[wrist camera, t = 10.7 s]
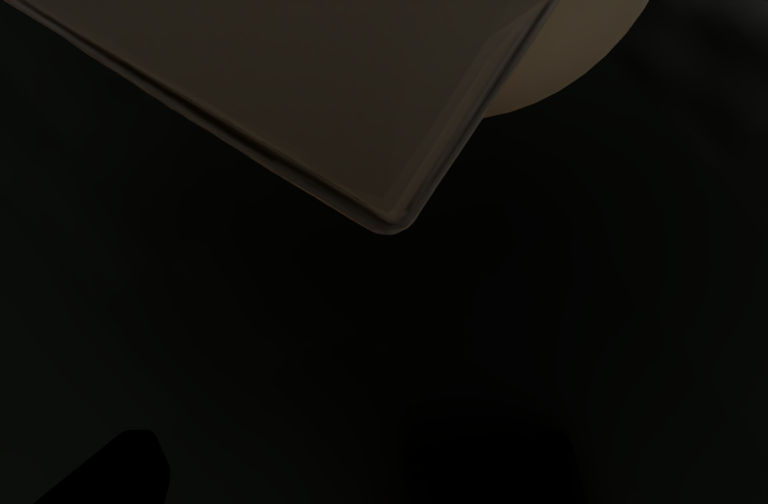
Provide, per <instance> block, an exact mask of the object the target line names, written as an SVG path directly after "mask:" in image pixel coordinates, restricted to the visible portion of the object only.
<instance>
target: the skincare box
mask: <svg viewBox="0 0 768 504" xmlns="http://www.w3.org/2000/svg"><path fill="white" fill-rule="evenodd" d="M4 1H6V2H7V3H9V4H10V5H12V6H14V7H15V8H17V9H19V10H20V11H22V12H24V13H25V14H27V15H29V16H30V17H32V18H34V19H35V20H37V21H38V22H40V23H42V24H43V25H45V26H47V27H48V28H50V29H52V30H53V31H55V32H57V33H58V34H60V35H61V36H63V37H64V38H66V39H67V40H68V41H70V42H71V43H72V44H74V45H75V46H76V47H78V48H79V49H81V50H82V51H84V52H85V53H87V54H88V55H90V56H91V57H93V58H95V59H96V60H98V61H99V62H101V63H102V64H104V65H105V66H107V67H109V68H110V69H112V70H114V71H115V72H117V73H118V74H120V75H122V76H123V77H125V78H126V79H128V80H129V81H131V82H133V83H134V84H136V85H137V86H138V87H140V88H141V89H143V90H144V91H146V92H147V93H148V94H150V95H152V96H153V97H155V98H157V99H158V100H160V101H161V102H162V103H164V104H165V105H166V106H168V107H169V108H171V109H173V110H175V111H177V112H179V113H180V114H182V115H183V116H185V117H186V118H188V119H189V120H191V121H192V122H194V123H195V124H197V125H199V126H201V127H203V128H205V129H206V130H208V131H210V132H211V133H213V134H214V135H216V136H217V137H219V138H220V139H222V140H223V141H225V142H227V143H228V144H230V145H232V146H233V147H235V148H236V149H238V150H239V151H241V152H243V153H244V154H246V155H247V156H249V157H250V158H252V159H253V160H255V161H256V162H258V163H259V164H261V165H263V166H264V167H266V168H267V169H269V170H270V171H272V172H274V173H275V174H277V175H279V176H280V177H282V178H284V179H285V180H287V181H289V182H290V183H292V184H294V185H295V186H297V187H299V188H300V189H302V190H304V191H305V192H307V193H309V194H310V195H312V196H314V197H315V198H317V199H319V200H320V201H322V202H324V203H325V204H327V205H328V206H330V207H332V208H333V209H335V210H337V211H338V212H340V213H342V214H343V215H345V216H346V217H348V218H350V219H351V220H353V221H355V222H356V223H358V224H360V225H362V226H363V227H365V228H367V229H369V230H371V231H372V232H374V233H377V234H384V235H393V234H396V233H398V232H400V231H402V230H405V229H407V228H408V227H409V226H410V225H411V224H412V223H413V222H414V221H415V220H416V218H417V217H418V215H419V213H420V212H421V210H422V209H423V207H424V206H425V204H426V202H427V201H428V199H429V198H430V196H431V195H432V193H433V192H434V190H435V189H436V187H437V186H438V184H439V183H440V181H441V180H442V178H443V177H444V175H445V174H446V172H447V171H448V169H449V168H450V167H451V165H452V164H453V162H454V161H455V159H456V158H457V156H458V155H459V153H460V152H461V150H462V149H463V147H464V146H465V144H466V143H467V141H468V140H469V138H470V137H471V135H472V134H473V132H474V131H475V129H476V128H477V126H478V125H479V123H480V122H481V120H482V119H483V117H484V116H485V114H486V113H487V111H488V109H489V108H490V106H491V105H492V103H493V102H494V100H495V99H496V97H497V96H498V94H499V93H500V91H501V90H502V88H503V87H504V85H505V84H506V82H507V81H508V79H509V78H510V76H511V75H512V73H513V72H514V70H515V69H516V67H517V66H518V64H519V63H520V61H521V60H522V58H523V57H524V56H525V54H526V53H527V51H528V49H529V48H530V46H531V45H532V43H533V42H534V40H535V38H536V37H537V35H538V34H539V32H540V30H541V29H542V27H543V26H544V24H545V23H546V21H547V20H548V18H549V17H550V15H551V14H552V12H553V11H554V9H555V8H556V6H557V5H558V3H559V2H560V0H4Z"/></svg>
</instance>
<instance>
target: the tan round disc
mask: <svg viewBox="0 0 768 504" xmlns="http://www.w3.org/2000/svg"><path fill="white" fill-rule="evenodd" d="M648 1H649V0H560V2H559V3H558V5H557V6H556V8H555V9H554V11H553V12H552V14H551V15H550V17H549V18H548V20H547V21H546V23H545V24H544V26H543V27H542V29H541V30H540V32H539V34H538V35H537V37H536V38H535V40H534V42H533V43H532V45H531V46H530V48H529V49H528V51H527V53H526V54H525V56H524V57H523V58H522V60H521V61H520V63H519V64H518V66H517V67H516V69H515V70H514V72H513V73H512V75H511V76H510V78H509V79H508V81H507V82H506V84H505V85H504V87H503V88H502V90H501V91H500V93H499V94H498V96H497V97H496V99H495V100H494V102H493V103H492V105H491V106H490V108H489V109H488V111H487V113H486V114H485V116H484V117H483V118H485V117H490V116H494V115H499V114H503V113H508V112H511V111H514V110H517V109H520V108H523V107H525V106H528V105H531V104H534V103H536V102H538V101H540V100H542V99H544V98H546V97H548V96H550V95H552V94H554V93H556V92H558V91H560V90H561V89H563V88H564V87H566V86H567V85H569V84H570V83H572V82H573V81H575V80H576V79H578V78H579V77H581V76H582V75H583V74H585V73H586V72H587V71H588V70H589V69H590V68H592V67H593V66H594V65H595V64H596V63H597V62H599V61H600V60H601V59H602V58H603V57H604V56H606V55H607V53H608V52H609V51H610V50H611V49H612V48H613V47H614V46H615V45H616V44H617V43H618V42H619V40H620V39H621V38H622V37H623V36H624V35H625V34H626V33H627V31H628V30H629V29H630V27H631V26H632V24H633V23H634V22H635V20H636V19H637V18H638V16H639V15H640V13H641V12H642V11H643V9H644V8H645V6H646V4H647V3H648Z"/></svg>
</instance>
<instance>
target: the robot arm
mask: <svg viewBox="0 0 768 504" xmlns="http://www.w3.org/2000/svg"><path fill="white" fill-rule="evenodd" d="M556 447H562V448H564V449H563V450H561V451H555V450H553V449H554V448H556ZM414 470H415V471H419V472H421V473H420V474H415V473H413V472H412V471H414ZM403 475H404V479H405V482H406V485H407V487H408V490H409V493H410V495H411V498H412V501H413V503H414V504H587V501H586V498H585V494H584V490H583V486H582V482H581V479H580V475H579V471H578V467H577V464H576V460H575V456H574V452H573V448H572V445H571V442H570V440H569V439H568V438H567V437H565V436H562V435H551V436H545V437H539V438H533V439H527V440H521V441H515V442H509V443H503V444H497V445H491V446H485V447H479V448H473V449H467V450H461V451H455V452H449V453H444V454H438V455H432V456H426V457H420V458H414V459H411V460H409V461H407V462H406V464H405V466H404V472H403ZM169 482H170V468H169V464H168V462H167V460H166V457H165V455H164V453H163V451H162V449H161V446H160V444H159V442H158V440H157V438H156V436H155V434H154V433H153V432H151V431H150V430H128V431H124V432H122V433H121V434H119V435H118V436H117V437H115V438H114V439H113V440H112V441H110V442H109V443H108V444H107V445H105V446H104V447H103V448H102V449H101V450H99V451H98V452H97V453H96V454H94V455H93V456H92V457H91V458H89V459H88V460H87V461H86V462H84V463H83V464H82V465H81V466H79V467H78V468H77V469H76V470H74V471H73V472H72V473H71V474H69V475H68V476H67V477H66V478H64V479H63V480H62V481H61V482H59V483H58V484H57V485H56V486H54V487H53V488H52V489H51V490H50V491H48V492H47V493H46V494H45V495H43V496H42V497H41V498H40V499H38V500H37V501H36V502H35V503H33V504H164V502H165V498H166V494H167V490H168V487H169Z"/></svg>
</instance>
